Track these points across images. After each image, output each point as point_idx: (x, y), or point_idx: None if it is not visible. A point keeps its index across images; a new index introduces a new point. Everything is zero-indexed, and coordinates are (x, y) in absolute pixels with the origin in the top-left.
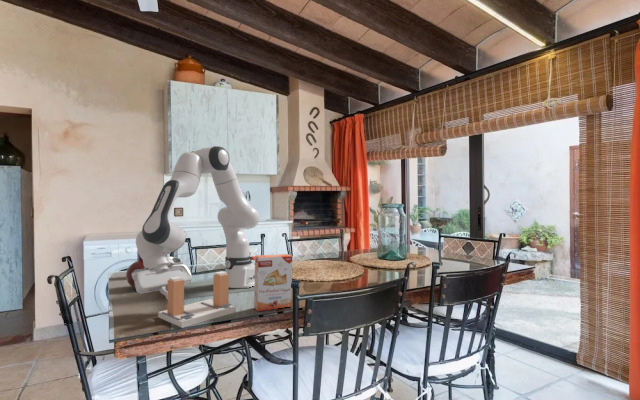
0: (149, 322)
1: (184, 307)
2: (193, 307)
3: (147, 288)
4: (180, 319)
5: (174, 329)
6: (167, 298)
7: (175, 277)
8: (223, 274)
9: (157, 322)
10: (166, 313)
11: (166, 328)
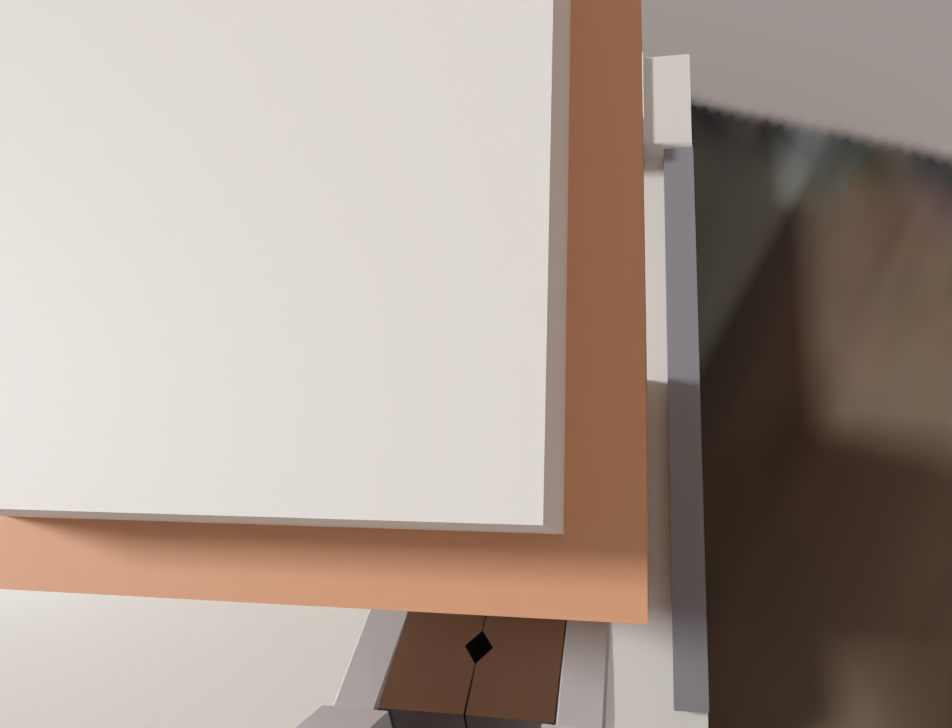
0: (941, 699)
1: (251, 680)
2: None
3: None
4: (647, 164)
5: (786, 122)
6: (612, 662)
7: (173, 298)
8: None
9: (834, 584)
10: (682, 561)
11: (852, 231)
